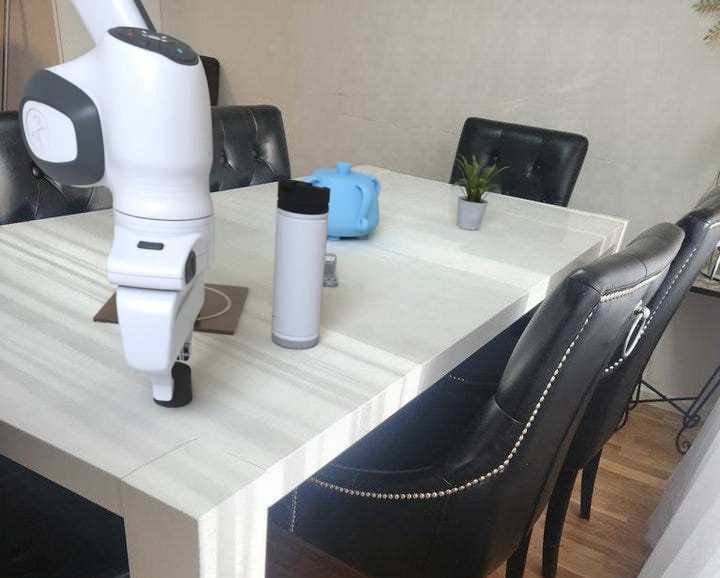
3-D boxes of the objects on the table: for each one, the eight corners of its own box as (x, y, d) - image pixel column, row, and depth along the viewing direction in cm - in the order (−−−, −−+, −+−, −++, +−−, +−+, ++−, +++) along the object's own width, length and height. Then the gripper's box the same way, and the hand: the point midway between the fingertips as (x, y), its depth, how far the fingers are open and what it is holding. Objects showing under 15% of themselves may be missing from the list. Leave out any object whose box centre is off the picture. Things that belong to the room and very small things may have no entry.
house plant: (421, 220, 154) (433, 144, 145) (458, 217, 163) (472, 145, 154) (466, 236, 146) (481, 157, 137) (503, 231, 154) (520, 156, 145)
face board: (93, 321, 84) (92, 316, 83) (129, 278, 99) (129, 274, 98) (233, 334, 85) (233, 330, 85) (248, 290, 100) (248, 286, 100)
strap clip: (338, 287, 106) (341, 261, 104) (320, 286, 106) (322, 260, 103) (332, 271, 113) (334, 246, 111) (314, 270, 113) (316, 245, 110)
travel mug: (259, 339, 85) (264, 175, 74) (291, 327, 90) (300, 171, 79) (297, 354, 83) (307, 186, 71) (327, 341, 87) (342, 181, 76)
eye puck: (149, 406, 68) (147, 375, 66) (158, 388, 71) (156, 359, 69) (188, 409, 68) (187, 379, 66) (195, 391, 71) (194, 362, 69)
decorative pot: (363, 250, 127) (373, 175, 120) (287, 234, 130) (291, 160, 122) (383, 233, 141) (393, 164, 133) (314, 219, 143) (319, 151, 136)
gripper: (156, 212, 69) (164, 336, 76) (98, 270, 52) (116, 421, 59) (217, 219, 69) (218, 341, 77) (179, 277, 52) (186, 426, 60)
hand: (174, 376), depth 68 cm, fingers open, 8 cm apart
